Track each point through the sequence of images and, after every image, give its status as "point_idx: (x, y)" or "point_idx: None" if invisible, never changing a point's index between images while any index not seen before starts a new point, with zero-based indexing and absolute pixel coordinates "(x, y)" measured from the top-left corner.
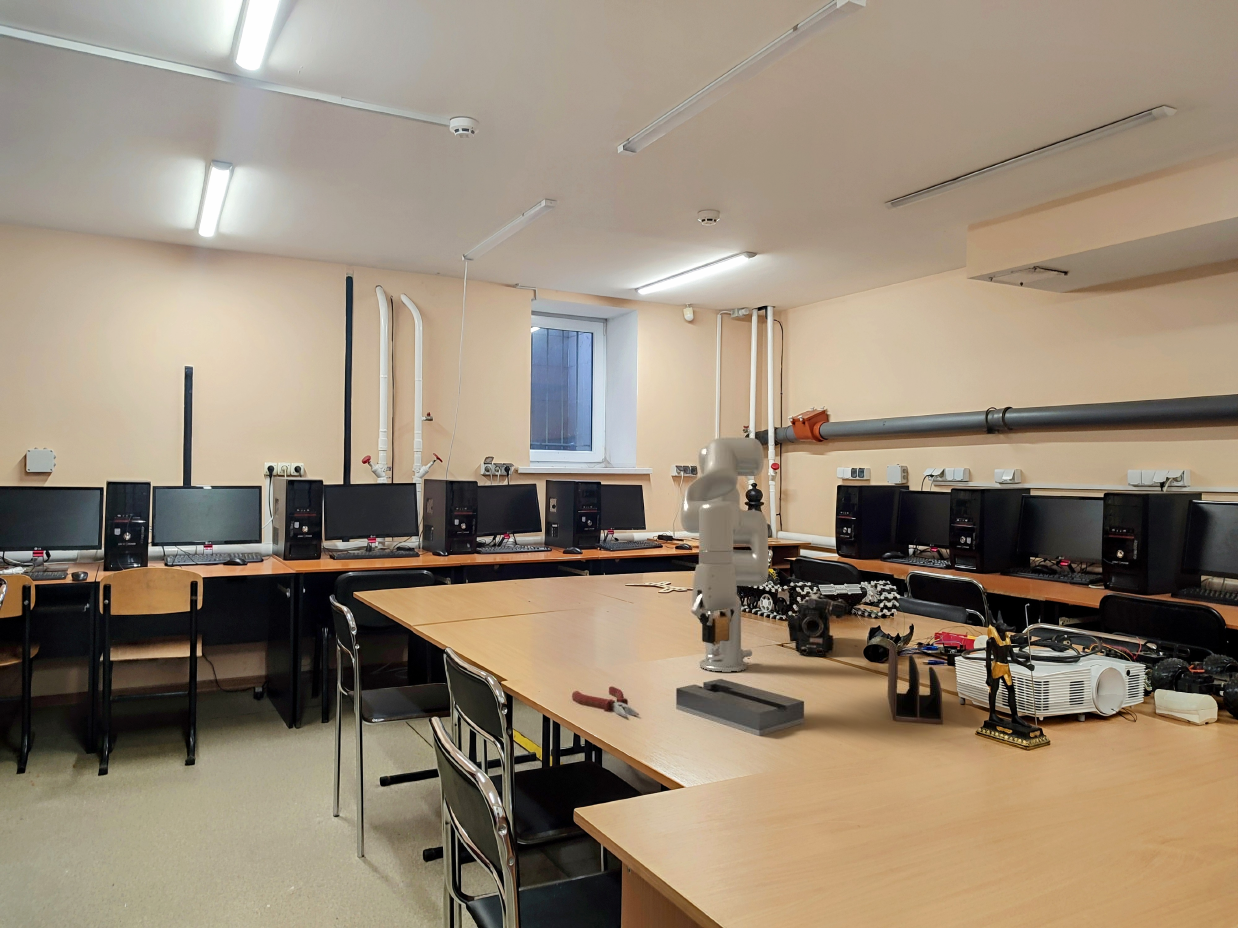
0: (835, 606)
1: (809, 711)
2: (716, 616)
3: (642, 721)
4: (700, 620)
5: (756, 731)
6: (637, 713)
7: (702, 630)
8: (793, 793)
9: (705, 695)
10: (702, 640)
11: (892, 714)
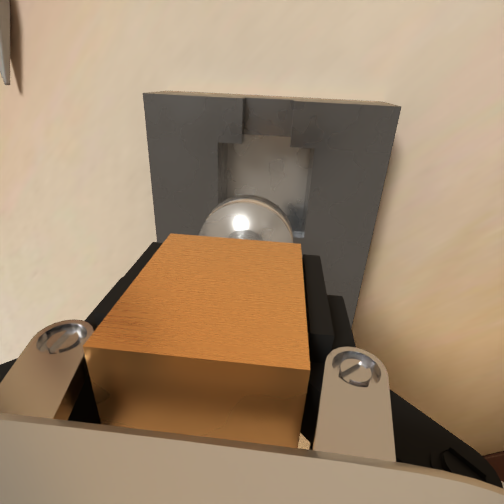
0: None
1: (420, 344)
2: (217, 429)
3: (12, 119)
4: (6, 373)
5: None
6: (4, 78)
7: (98, 304)
8: None
9: (168, 229)
10: (155, 243)
11: (491, 459)
